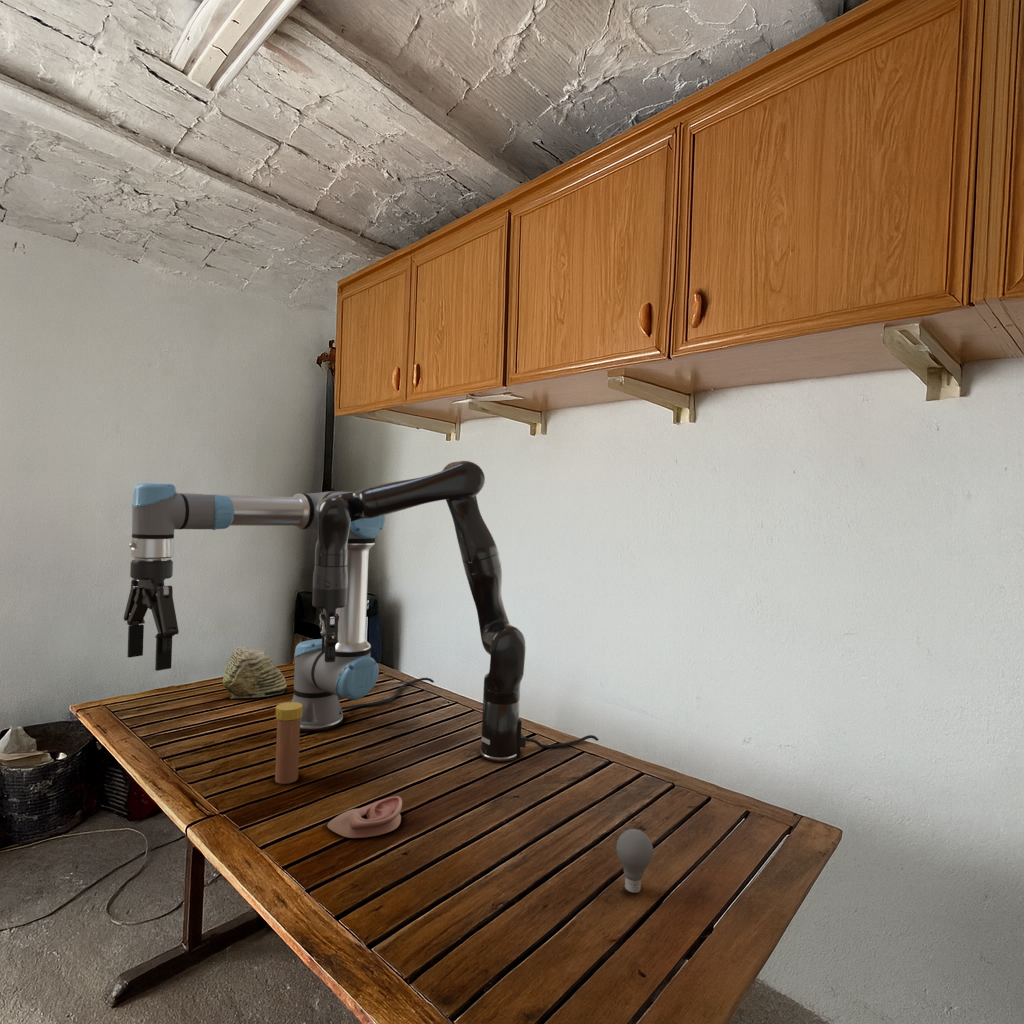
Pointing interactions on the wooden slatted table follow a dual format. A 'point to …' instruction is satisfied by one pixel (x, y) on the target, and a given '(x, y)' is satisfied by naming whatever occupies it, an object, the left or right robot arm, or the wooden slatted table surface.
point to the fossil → (252, 674)
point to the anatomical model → (369, 819)
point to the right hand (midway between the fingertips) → (328, 657)
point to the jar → (287, 751)
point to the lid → (288, 711)
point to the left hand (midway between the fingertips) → (148, 662)
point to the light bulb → (634, 857)
